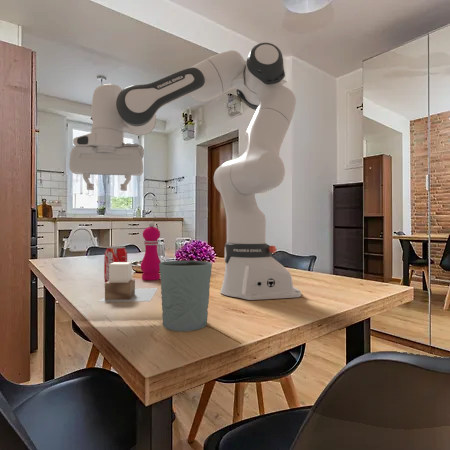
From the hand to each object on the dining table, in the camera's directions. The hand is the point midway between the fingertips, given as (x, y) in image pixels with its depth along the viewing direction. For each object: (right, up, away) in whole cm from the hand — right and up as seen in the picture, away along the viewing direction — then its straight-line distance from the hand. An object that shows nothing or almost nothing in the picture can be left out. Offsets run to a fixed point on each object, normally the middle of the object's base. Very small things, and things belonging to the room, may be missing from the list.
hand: (107, 190), depth 94 cm
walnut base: (+8, -28, -12) cm, 32 cm away
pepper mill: (+8, -29, +21) cm, 37 cm away
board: (+10, -29, -9) cm, 32 cm away
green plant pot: (+27, -30, -31) cm, 50 cm away
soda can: (-1, -29, +11) cm, 31 cm away
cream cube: (+8, -24, -12) cm, 28 cm away
